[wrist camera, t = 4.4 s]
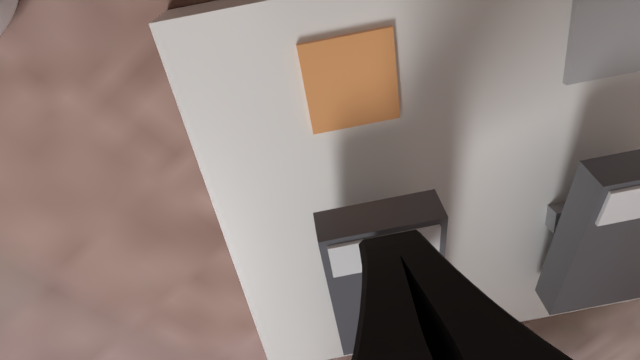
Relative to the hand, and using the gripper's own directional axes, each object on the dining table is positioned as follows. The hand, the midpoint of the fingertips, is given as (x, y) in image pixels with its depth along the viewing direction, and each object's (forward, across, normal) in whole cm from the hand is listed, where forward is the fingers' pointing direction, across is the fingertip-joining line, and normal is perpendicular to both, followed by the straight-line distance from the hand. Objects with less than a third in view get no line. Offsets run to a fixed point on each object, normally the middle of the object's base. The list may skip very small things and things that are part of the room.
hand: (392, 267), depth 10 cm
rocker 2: (+2, -7, +2) cm, 8 cm away
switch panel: (+5, -7, +1) cm, 9 cm away
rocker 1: (+2, 0, +2) cm, 3 cm away
